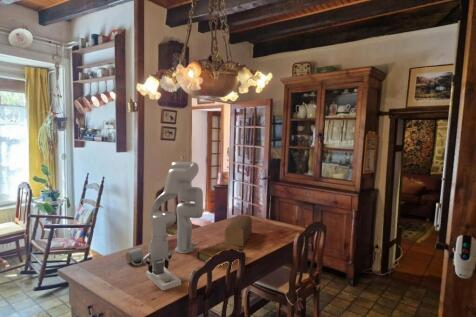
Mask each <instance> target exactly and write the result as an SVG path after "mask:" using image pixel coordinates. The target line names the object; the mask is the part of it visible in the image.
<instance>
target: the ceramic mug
mask: <svg viewBox="0 0 476 317" xmlns="http://www.w3.org/2000/svg"><path fill="white" fill-rule="evenodd" d="M143 258H144V252H143V250H142V248H141V247H138V248H135V249H131V250H128V251H126V254H125V259H126V262H127V264H132V265H133V266H134V267H135V266H136V267H139V266H141V265H142V264H143V262H144V260H143Z"/></svg>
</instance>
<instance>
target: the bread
mask: <svg viewBox="0 0 476 317" xmlns="http://www.w3.org/2000/svg"><path fill="white" fill-rule="evenodd" d="M252 228H253V219H252V217H251V216H249V215H242V214H241V215H240V214H239V215H236V217H235V218H234V219H233V220H232V221H231V222H230V223H229V224H228V225H227V226H226V228H225V229H224V242H225V243H228V244H231V245H234V246H237V247H240V248H243V247H244V246H245V243H247V241H248V239H249V238H250V235H251V234H252V230H253V229H252Z"/></svg>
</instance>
